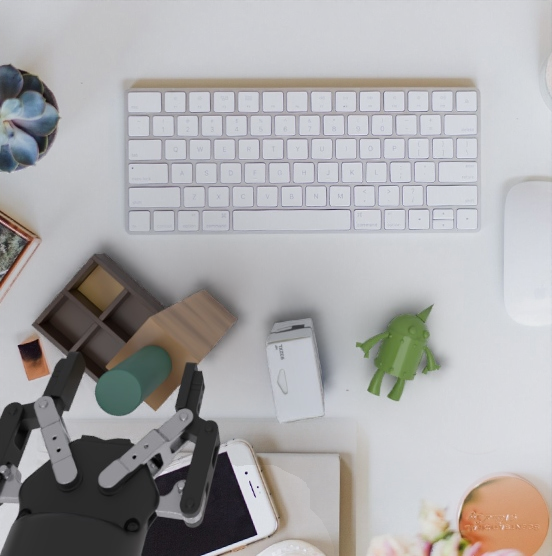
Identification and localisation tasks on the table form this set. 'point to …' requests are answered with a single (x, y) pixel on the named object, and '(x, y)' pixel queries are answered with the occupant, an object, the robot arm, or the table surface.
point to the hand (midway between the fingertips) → (135, 362)
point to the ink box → (295, 371)
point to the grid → (97, 313)
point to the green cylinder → (132, 380)
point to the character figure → (400, 351)
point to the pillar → (180, 338)
